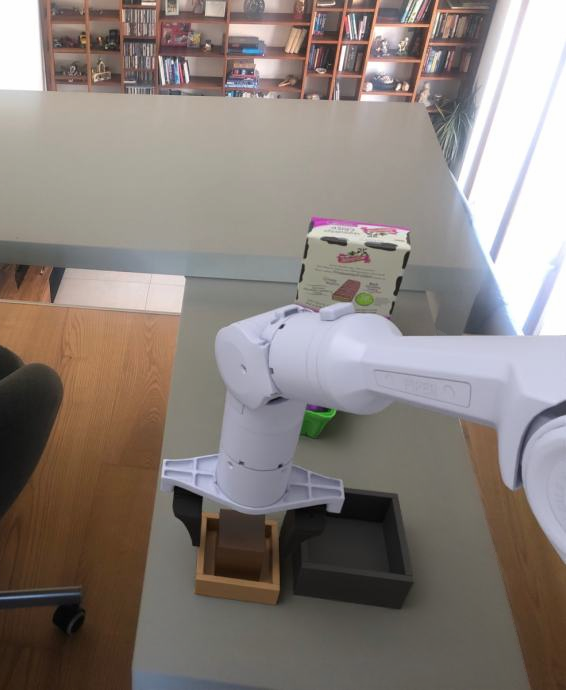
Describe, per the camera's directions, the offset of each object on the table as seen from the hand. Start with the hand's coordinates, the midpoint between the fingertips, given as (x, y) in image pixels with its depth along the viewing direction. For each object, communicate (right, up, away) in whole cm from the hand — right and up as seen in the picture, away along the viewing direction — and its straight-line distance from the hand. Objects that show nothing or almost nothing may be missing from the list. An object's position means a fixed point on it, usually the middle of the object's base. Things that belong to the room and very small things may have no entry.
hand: (239, 542), depth 62 cm
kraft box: (0, -3, +2) cm, 3 cm away
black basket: (+10, -2, +3) cm, 11 cm away
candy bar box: (+17, +18, +26) cm, 36 cm away
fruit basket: (+10, +11, +18) cm, 23 cm away
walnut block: (0, -2, +2) cm, 3 cm away
